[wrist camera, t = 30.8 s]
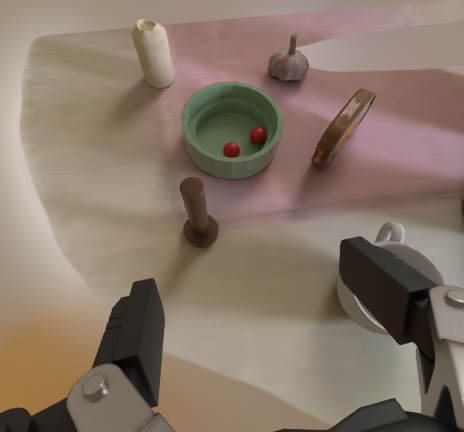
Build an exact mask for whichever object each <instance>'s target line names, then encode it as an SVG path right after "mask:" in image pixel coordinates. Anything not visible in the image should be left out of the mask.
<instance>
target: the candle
mask: <svg viewBox="0 0 464 432" xmlns="http://www.w3.org/2000/svg"><path fill="white" fill-rule="evenodd" d="M132 38H133V41H134V44H135V48H136V51H137V54H138V57H139V60H140V63H141V67H142V70H143V73H144V76H145V79H146V81H147V83H148V84H149V85H150V86H152V87H154V88H165V87H167V86H169V85H171V84H172V82H173V81H174V71H173V66H172V60H171V55H170V50H169V45H168V40H167V35H166V30H165V28H164V27H163V26H162V25H160V24H158V23H157V22H154V21H150V20H146V19H145V20H139V21H138V22H137V24H136V26H135V27H134V29H133V31H132Z"/></svg>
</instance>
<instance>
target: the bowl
mask: <svg viewBox="0 0 464 432" xmlns="http://www.w3.org/2000/svg"><path fill="white" fill-rule="evenodd" d="M181 119H182V130H183V135H184V140H185V145H186V149H187V151H188V153H189V155H190V157H191V159H192V161H193V162H194V163H195V164H196V165H197V166H198V167H199V168H200V169H201V170H203V171H205V172H207V173H209V174H211V175H213V176H216V177H220V178H225V179H238V178H247V177H249V176H251V175H254V174H256V173H259V172H260V171H261V170H262V169H264V168H265V167H266V166H267V165H268V164H269V163H270V162H271V160H272V158H273V156H274V155H275V153H276V150H277V147H278V143H279V140H280V137H281V134H282V127H283V118H282V115H281V111H280V108H279V107H278V105H277V104H276V102H275V101H274V100H273V98H272V97H270V96H269V95H268V94H266V93H265V92H264V91H263V90H261V89H259V88H257V87H254V86H252V85H250V84H245V83H239V82H220V83H216V84H213V85H210V86H207V87H204V88H203V89H201V90H200V91H198V92H197V93H195V94H194V95H193V96H192V97H191V98H190V100H189V101H188V102H187V103H186V105H185V107H184V110H183V113H182V117H181ZM256 127H261V128H263V129H264V130H265V132H266V139H265V141H264V142H263V143H262V144H259V145H257V144H254V143H252V142H251V140H250V132H251V130H252V129H254V128H256ZM228 142H235V143H237V144H238V145H239V147H240V154H239V156H238V157H235V158H229V157H225V156H224V154H223V148H224V146H225V144H227V143H228Z"/></svg>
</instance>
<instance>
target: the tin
mask: <svg viewBox="0 0 464 432" xmlns="http://www.w3.org/2000/svg"><path fill="white" fill-rule="evenodd" d="M375 97H376V94H374V93H371V92H369V91H367V90H365V89H360V90H358V91H357V92H356V93H355V94H354V96H353V97H352V98H351V99H350V100H349V102H348V103H347V104H346V105H345V106H344V108H343V109H342V110H341V111H340V112H339V114H338V115H337V116H336V117H335V119H334V120H333V121H332V122H331V124H330V125H329V126H328V128H327V129H326V131H325V132H324V134H323V136H322V137H321V139H320V141H319V143H318V145H317V147H316V151H315V153H314V155H313V157H312V159H311V160H312V162H314V163H315V164H317V165H319V166H320V167H322V168H323V169H325V168H326V167H327V166H328V165H329V164H330V162H331V161H332V160H333V158H334V157H335V156H336V155H337V153H338V152H339V151H340V149H341V148H342V147H343V146H344V144H345V143H346V142H347V141H348V139H349V138H350V137H351V135H352V134H353V133H354V131H355V130H356V128H357V127H358V125H359V124H360V122H361V121H362V119H363V118H364V116H365V114H366V113H367V111H368V110H369V108H370V106H371V104H372V103H373V101H374V99H375Z"/></svg>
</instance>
